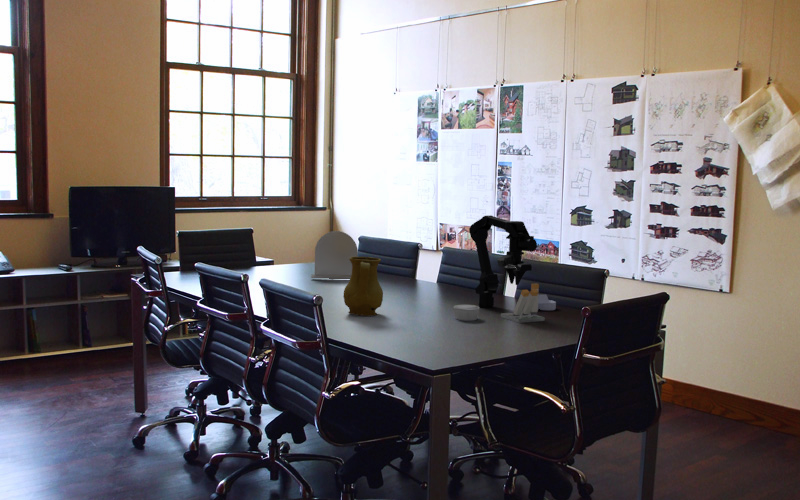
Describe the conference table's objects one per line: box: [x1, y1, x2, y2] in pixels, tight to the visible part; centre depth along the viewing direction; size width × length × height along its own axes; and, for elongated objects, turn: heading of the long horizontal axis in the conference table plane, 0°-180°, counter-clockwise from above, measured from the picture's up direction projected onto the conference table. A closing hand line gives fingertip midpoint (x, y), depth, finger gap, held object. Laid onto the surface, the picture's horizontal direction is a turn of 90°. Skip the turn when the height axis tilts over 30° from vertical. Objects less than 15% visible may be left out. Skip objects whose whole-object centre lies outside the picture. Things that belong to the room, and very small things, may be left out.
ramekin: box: [453, 304, 481, 322], centre depth 322 cm, size 11×11×5 cm
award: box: [310, 230, 359, 279], centre depth 428 cm, size 28×9×28 cm, turn 97°
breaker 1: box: [513, 289, 530, 316], centre depth 317 cm, size 2×3×13 cm
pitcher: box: [343, 256, 384, 317], centre depth 326 cm, size 17×19×25 cm
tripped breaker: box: [530, 282, 540, 315], centre depth 324 cm, size 2×3×13 cm
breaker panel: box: [500, 311, 546, 324], centre depth 325 cm, size 14×13×2 cm
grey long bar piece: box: [522, 288, 540, 315], centre depth 319 cm, size 2×3×13 cm
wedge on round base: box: [526, 294, 557, 311], centre depth 350 cm, size 9×7×13 cm
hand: (514, 284), depth 336 cm, fingers open, 4 cm apart
